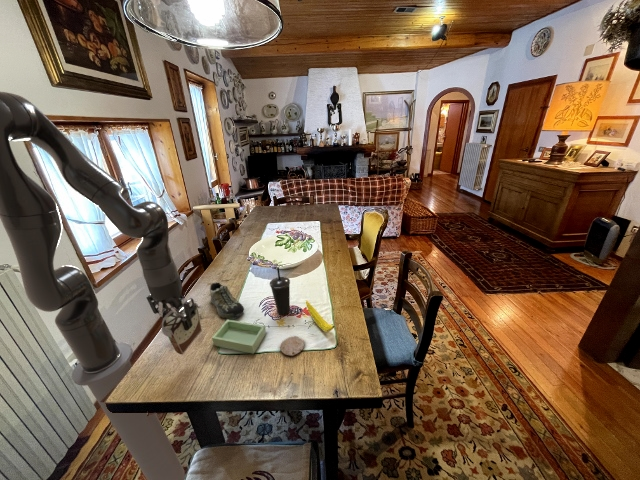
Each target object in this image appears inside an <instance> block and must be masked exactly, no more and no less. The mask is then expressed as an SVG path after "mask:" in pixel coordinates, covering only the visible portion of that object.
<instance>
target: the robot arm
mask: <svg viewBox="0 0 640 480" xmlns="http://www.w3.org/2000/svg"><path fill="white" fill-rule="evenodd" d="M20 141H21V142H22V141H23V142H24V141H27V142H30V143H32V144H33V145H35V146H37V148H40V149H41V150H43V151H44V152H46V153H47V154H48V155H49V156H50V157H51V158H52V159H53V161H54V162H55V164H56V166H57V168H58V171H59V172H60V175H61V177H62V178H63V179H64V181H65V182H66V183H67V185H69V187H71V188H72V189H73V190H74V191H75V192H77V193H78V194H79V195H81V196H82V197H84V198H85V199H87V201H89V202H90V203H92V204H93V205H95V206H96V207H98V208H99V210H100V211H101V212H102V213H103V215H104V216H105V217H106V219H108V220H109V222H110V223H111V224H112V225H113V226H114V227H115V228H116V230H117V231H119V232H120V233H121V234H122V235H124V236H126V237H129V238H131V239H141V241H140V242H139V244H138V245H137V247H136V249H135V251H136V252H135V253H136V256H137V259H138V261H139V264H140V267H141V270H142V275H143V278H144V281H145V284H146V285H147V289H148V292H149V294H148V295H147V296H146V300H147V302H148V304H149V306H150V309H151V310H152V313H153V314H154V315H157V314H158V316H159V317H161V319H162V320H161V321H163V318H164V317H165V316H166V315H167V314H168V313H169V312H170V311H173V312H174V314H175V315H176V316H179V317H180V318H181V319H182V323H183V326H184V329H185V330H187V331H188V330H189V329H190V328H191V327H192V325H193V324H192V321H191V318H193V317H194V316H195V315H196V310H195V305H194V303H195V300H194V299H193V298H192V297H190V298H189V299H187V298H185V296H184V295H183V294H182V290H183V284H182V281H181V277H180V274H179V270H178V267H177V264H176V263H175V260H174V258H173V254H172V251H171V248H170V246H169V241H170V240H169V238H170V236H169V235H170V234H169V220H168V216H167V213H166V212H165V210H164V208H163V207H162V206H160V205H159V203H156V202H155V201H150V200H149V201H143V202H139V203H138V204H136V205H133V206H132V205H130V204H129V203H128V201H126V200H128V198H129V195H130V193H129V190H128V189H127V187H126V186H124V185H123V183H121V182H120V181H119V180H117V179H116V178H115V177H113V176H112V175H111V174H109V173H108V172H107V171H105V170H104V169H103V168H102V167H100V166H99V165H98V164H96V163H95V162H94V161H92V160H91V159H90V158H89V157H88V156H87V155H86V154H85V153H83V151H81V149H79V148H78V147H77V146H76V145H75V143H73V141H71V139H70V138H68V137H67V136H66V134H64V132H62V131H61V130H60V129H59V128H58V126H56V125H55V124H54V123H53V121H52V120H50V118H48V117H47V116H46V115H45V114H44V113H43V112H42V111H41V110H40V109H39V108H38V107H37V106H36V105H34V104H33V102H31V101H29V100H28V99H27V98H25V97H23V96H21V95H19V94H16V93H12V92H7V91H0V221H1V223H2V226H3V229H4V230H5V233H6V234H7V237H8V239H9V241H10V244H11V247H12V249H13V252H14V255H15V258H16V261H17V264H18V267H19V271H20V277H21V279H22V280H21V282H22V286H23V289H24V292H25V294H26V295H25V296H26V297H27V299H28V301H29V302H30V303H31V304H32V305H33V306H34V307H35V308H36V309H38V310H40V311H42V312H46V313H50V312H52V313H53V312H56V311H58V310H60V311H59V312H58V313H57V315H56V316H55V318H54V324H55V325H56V327H57V329H58V330H59V332H60V333H61V335H62V337H63V338H64V340H65V342H66V343H67V345H68V347H69V348H70V350H71V352H72V353H73V354H74V357H75V358H76V360H77V361H78V363H80V364H81V366H82V368H83V370H84V372H85V373H87V374H95V373H99V372H101V371H104V370H106V369H107V368H109V367H111V366H112V365H113V364H114V363H116V362H117V360H118V359H119V358H120V356H121V351H120V350H119V348H118V346H117V345H116V343H118V342H117V341H116V339H115V338H114V337H113V334H112V332H111V331H110V329H109V327H108V325H107V322H106V321H105V319H104V316H103V315H102V314H101V311H100V310H99V301H98V298H97V295H96V293H95V291H94V289H93V286H92V283H91V281H90V279H89V278H88V276H87V275H86V273H85V272H84V271H83V270H81V269H80V268H78V267H76V266H73V265H62V266H59V267H57V268H55V266H54V261H55V255H56V251H57V248H58V245H59V243H60V240H61V236H62V232H63V223H62V218H61V215H60V212H59V207H58V206H57V203H56V200H55V199H54V197H53V196H52V195H51V194H50V193H49V192H48V191H47V190H46V189H45V188H43V187H42V186H41V185H40V184H38V183H37V182H36V181H35V180H33V178H31V177H30V176H29V175H28V174H27V173H26V172H25V171H24V170H23V168H22V167H21V166H20V165H19V163H18V161H17V159H16V156H15V154H14V152H13V150H12V147H11V142H20ZM181 306H182V309H181V310H179V311H178V309H179V308H180V307H181ZM183 312H185V315H183V314H182V313H183Z"/></svg>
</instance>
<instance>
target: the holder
mask: <svg viewBox="0 0 640 480" xmlns="http://www.w3.org/2000/svg"><path fill="white" fill-rule="evenodd" d="M266 335H267V330H266V325H263V324H262V325H261V324H257V323H250V322H245V321H238V320H234V319H226V321H225V322H224V323H223V324H222V325H221V327H219V329H218V330H217V331H216V332H215V334H213V336H212V337H211V340H212V344H213V346H215V347H220V348H223V349H229V350H234V351H238V352H243V353H247V354H252V355H254V354H255V353H256V351H257V349H258V348H259V346H260V345H261V343H262V341H263V339H264V338H265V336H266Z"/></svg>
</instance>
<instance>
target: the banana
mask: <svg viewBox="0 0 640 480" xmlns="http://www.w3.org/2000/svg"><path fill="white" fill-rule="evenodd" d="M305 305H306V309H307V311H308V313H309V315H310V316H311V318H312V320H313V321H314V322H315V324H316V325H317V326H318V327H319V328H320V329H321V330H322V331H324V332H330V331H332V330H334V328H335V327H336V326H335V325H333V324H330V323H329V322H327V321H326V320H325V319H324V318H323V317H322V315H320V312H318V311H317V309H316V308H315V307H314V306H313V305H312V304H311V302H309V301H308V300H305Z"/></svg>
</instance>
